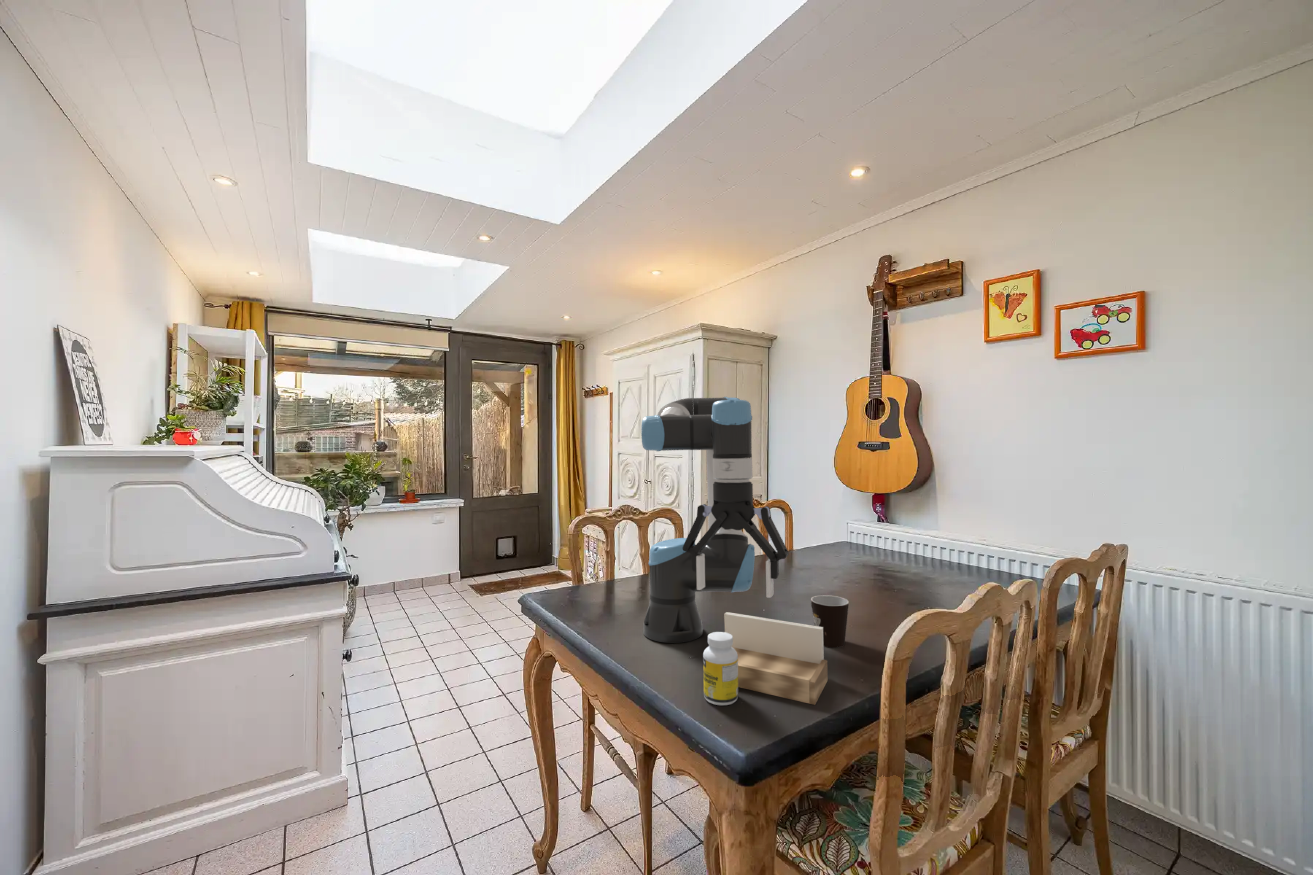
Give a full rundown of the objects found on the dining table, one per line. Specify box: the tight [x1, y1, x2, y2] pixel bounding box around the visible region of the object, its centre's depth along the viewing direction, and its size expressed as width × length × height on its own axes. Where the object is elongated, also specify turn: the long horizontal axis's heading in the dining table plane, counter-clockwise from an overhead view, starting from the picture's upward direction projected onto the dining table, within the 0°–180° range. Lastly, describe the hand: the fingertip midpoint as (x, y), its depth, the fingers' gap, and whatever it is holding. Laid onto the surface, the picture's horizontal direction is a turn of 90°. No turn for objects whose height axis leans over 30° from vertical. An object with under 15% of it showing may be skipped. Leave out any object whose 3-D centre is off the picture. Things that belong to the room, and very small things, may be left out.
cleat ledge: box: [732, 647, 829, 706], centre depth 104 cm, size 22×11×4 cm, turn 60°
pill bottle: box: [702, 631, 739, 706], centre depth 96 cm, size 6×6×12 cm
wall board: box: [723, 611, 825, 664], centre depth 109 cm, size 21×2×10 cm, turn 60°
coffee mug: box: [810, 594, 850, 649], centre depth 124 cm, size 12×9×10 cm
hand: (734, 592), depth 98 cm, fingers open, 13 cm apart
